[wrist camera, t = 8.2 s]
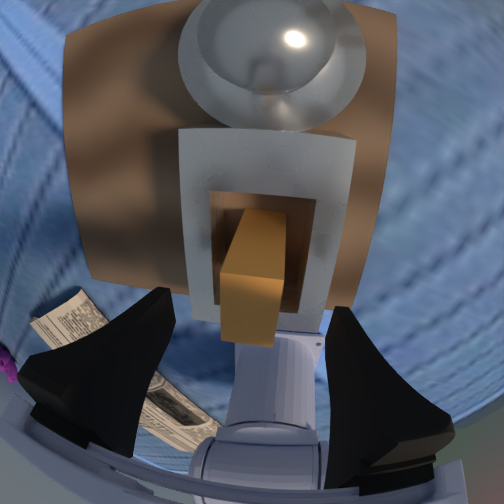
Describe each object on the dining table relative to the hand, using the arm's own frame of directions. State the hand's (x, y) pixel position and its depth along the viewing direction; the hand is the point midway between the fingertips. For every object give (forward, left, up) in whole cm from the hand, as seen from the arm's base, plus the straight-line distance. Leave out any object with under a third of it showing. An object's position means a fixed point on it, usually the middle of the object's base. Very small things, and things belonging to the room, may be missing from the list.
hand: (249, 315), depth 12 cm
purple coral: (-36, +60, -9) cm, 71 cm away
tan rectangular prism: (0, 0, -7) cm, 7 cm away
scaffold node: (+6, 0, -7) cm, 9 cm away
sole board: (+5, +4, -9) cm, 11 cm away
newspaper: (-28, +17, -9) cm, 35 cm away
